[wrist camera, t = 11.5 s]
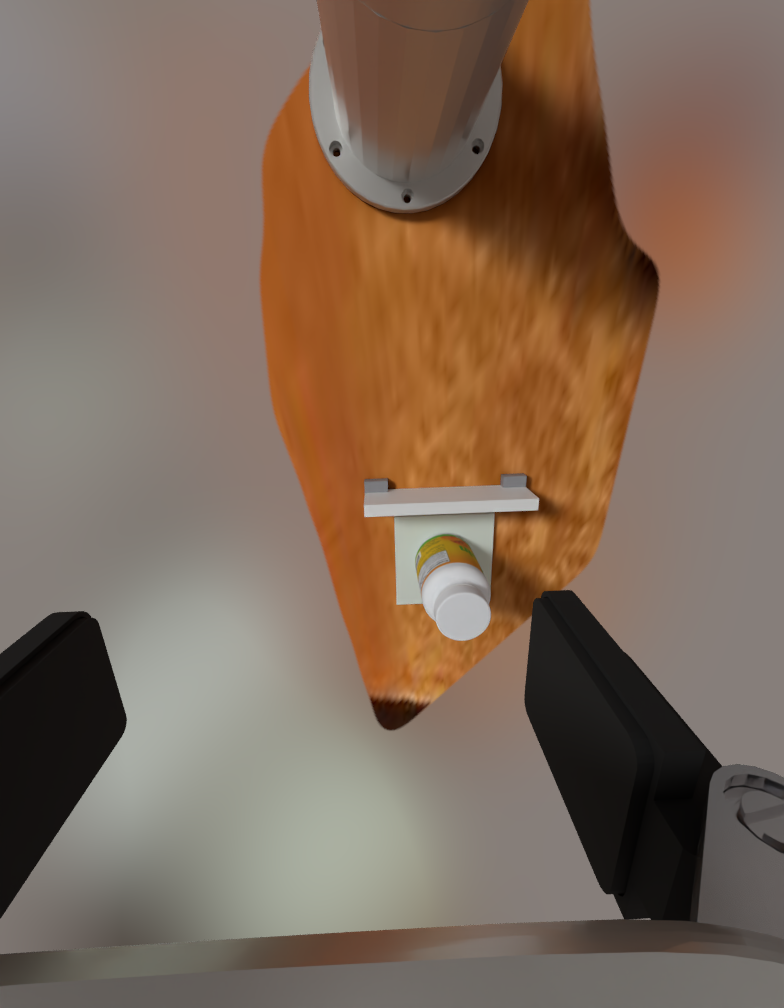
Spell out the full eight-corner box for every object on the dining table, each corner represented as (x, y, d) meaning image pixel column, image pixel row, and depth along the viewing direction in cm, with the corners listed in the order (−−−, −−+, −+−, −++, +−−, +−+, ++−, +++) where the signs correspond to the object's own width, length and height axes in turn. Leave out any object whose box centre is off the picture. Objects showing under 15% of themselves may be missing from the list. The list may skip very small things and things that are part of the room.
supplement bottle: (483, 562, 40) (515, 622, 31) (436, 594, 41) (454, 662, 32) (450, 519, 38) (474, 569, 29) (402, 553, 39) (411, 612, 30)
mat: (394, 515, 39) (394, 517, 38) (493, 511, 39) (494, 513, 38) (396, 602, 42) (396, 604, 41) (488, 598, 42) (489, 600, 41)
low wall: (364, 479, 37) (363, 493, 34) (523, 473, 38) (540, 486, 34) (366, 511, 38) (365, 528, 35) (521, 505, 39) (536, 521, 35)
